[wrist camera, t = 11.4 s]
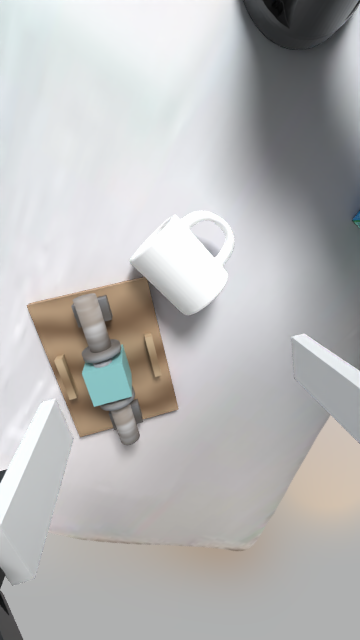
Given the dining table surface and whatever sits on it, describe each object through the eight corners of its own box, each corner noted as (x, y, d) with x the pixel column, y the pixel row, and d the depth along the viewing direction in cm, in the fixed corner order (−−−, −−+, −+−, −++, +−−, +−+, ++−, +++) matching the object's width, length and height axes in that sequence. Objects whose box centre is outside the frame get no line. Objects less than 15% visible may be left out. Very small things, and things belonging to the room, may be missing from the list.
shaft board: (29, 303, 38) (9, 319, 31) (146, 276, 40) (149, 285, 33) (81, 432, 45) (73, 466, 39) (177, 405, 47) (185, 434, 41)
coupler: (87, 351, 40) (81, 371, 35) (122, 342, 41) (121, 361, 35) (99, 384, 42) (94, 408, 36) (132, 375, 43) (132, 398, 37)
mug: (178, 306, 42) (189, 324, 34) (128, 257, 38) (128, 265, 31) (237, 248, 41) (262, 252, 33) (191, 192, 37) (207, 184, 30)
